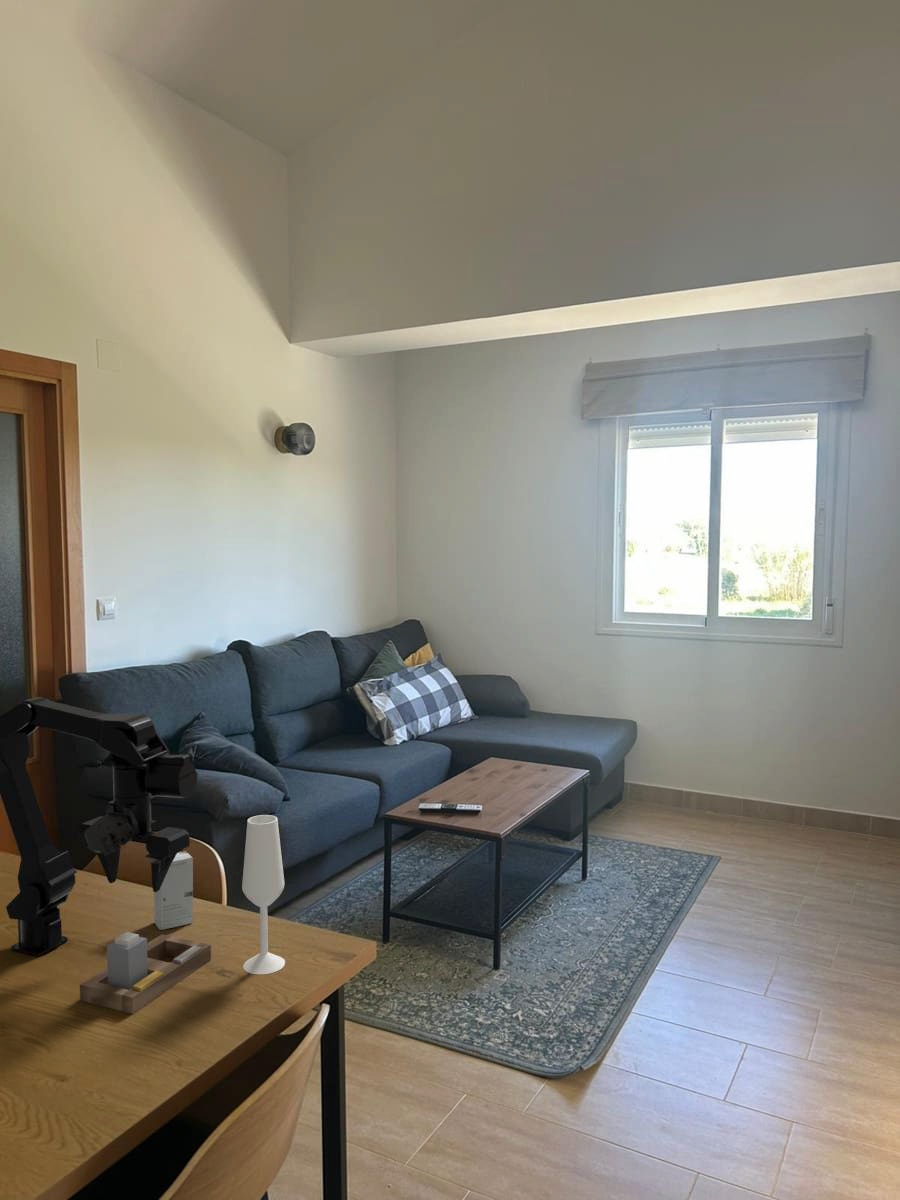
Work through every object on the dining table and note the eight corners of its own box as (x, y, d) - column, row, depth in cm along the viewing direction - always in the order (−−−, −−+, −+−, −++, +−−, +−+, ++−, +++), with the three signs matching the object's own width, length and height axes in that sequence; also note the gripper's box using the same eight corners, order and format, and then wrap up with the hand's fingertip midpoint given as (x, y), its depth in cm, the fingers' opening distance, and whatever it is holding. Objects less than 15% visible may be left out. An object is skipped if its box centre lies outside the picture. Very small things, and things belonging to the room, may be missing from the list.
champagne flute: (293, 963, 143) (292, 818, 141) (260, 978, 138) (258, 829, 136) (267, 950, 147) (265, 810, 145) (234, 965, 142) (232, 820, 140)
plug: (108, 996, 132) (106, 939, 132) (127, 984, 136) (126, 928, 135) (129, 1001, 131) (128, 944, 130) (147, 989, 134) (146, 933, 134)
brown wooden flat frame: (80, 1000, 131) (79, 981, 131) (162, 948, 148) (161, 932, 147) (132, 1014, 127) (132, 994, 127) (211, 959, 144) (210, 942, 144)
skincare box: (160, 931, 154) (158, 864, 153) (153, 922, 158) (151, 856, 157) (194, 923, 158) (193, 857, 157) (187, 914, 161) (186, 849, 160)
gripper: (49, 800, 139) (52, 896, 140) (142, 814, 132) (144, 915, 133) (102, 782, 149) (104, 871, 150) (191, 795, 142) (192, 888, 143)
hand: (134, 886), depth 144 cm, fingers open, 9 cm apart
